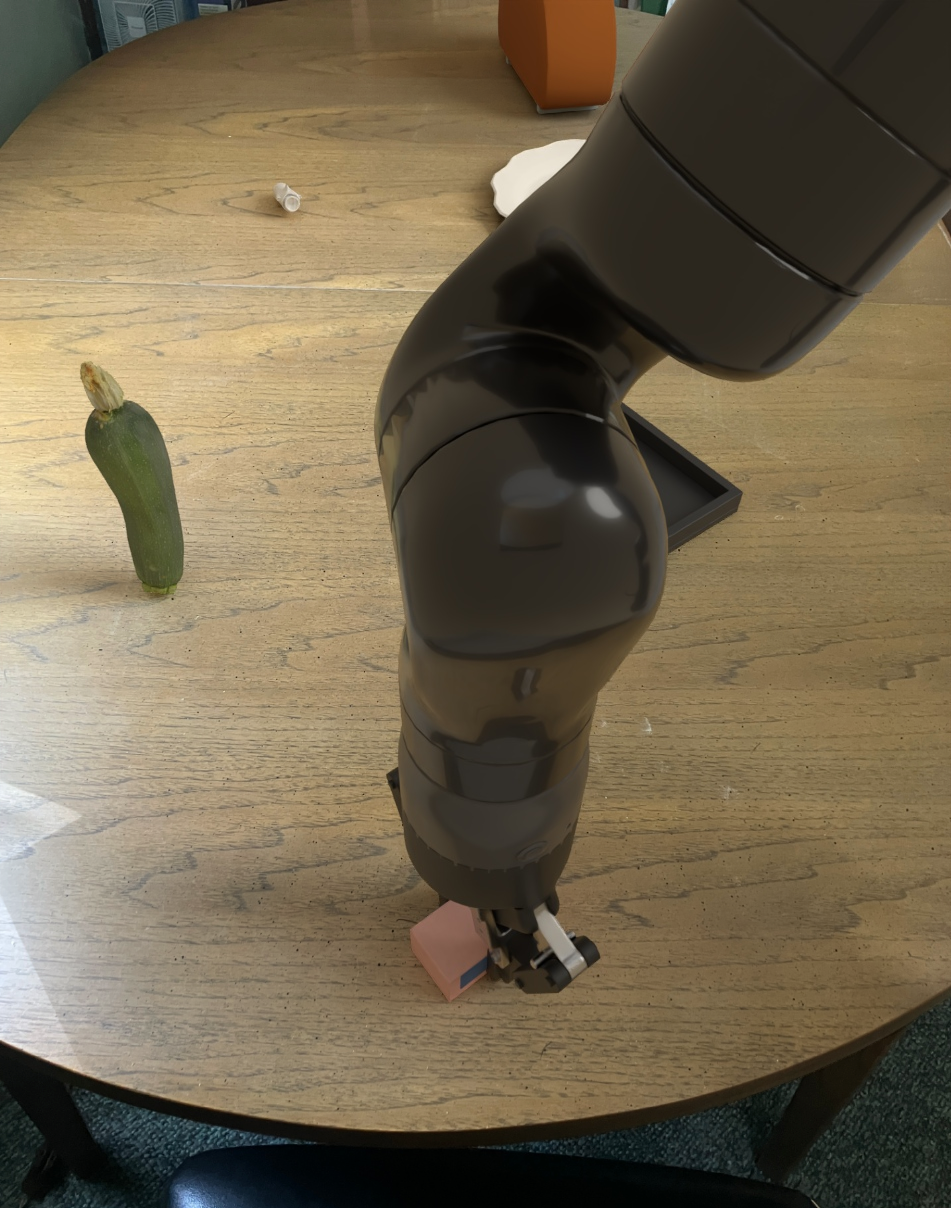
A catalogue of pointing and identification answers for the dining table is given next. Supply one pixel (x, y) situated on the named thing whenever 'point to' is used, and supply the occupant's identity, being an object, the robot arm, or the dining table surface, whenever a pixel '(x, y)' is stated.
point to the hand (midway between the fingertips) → (481, 934)
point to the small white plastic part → (286, 197)
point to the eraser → (450, 948)
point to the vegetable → (136, 479)
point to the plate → (530, 173)
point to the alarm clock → (561, 50)
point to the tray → (682, 483)
